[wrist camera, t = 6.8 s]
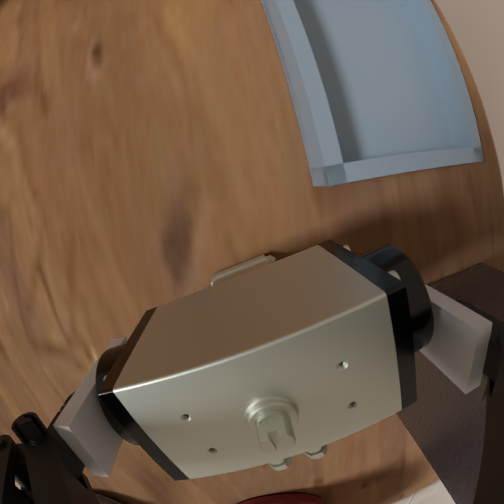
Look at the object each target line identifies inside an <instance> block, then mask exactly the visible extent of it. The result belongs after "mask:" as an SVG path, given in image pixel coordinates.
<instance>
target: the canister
mask: <svg viewBox="0 0 504 504" xmlns="http://www.w3.org/2000/svg"><path fill="white" fill-rule="evenodd" d="M238 504H325V501H324V500H323V499H322V498H320V497H317V496H314V495H309V494H297V493H294V494H277V495H269V496H263V497H258V498H254V499H250V500H246V501H243V502H241V503H238Z"/></svg>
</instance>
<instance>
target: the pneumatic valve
mask: <svg viewBox="0 0 504 504" xmlns="http://www.w3.org/2000/svg"><path fill="white" fill-rule="evenodd" d="M210 284H211V287H208V288H206V289H203V290H201V291H198V292H195V293H193V294H190V295H187V296H185V297H182V298H179V299H177V300H174V301H171V302H169V303H166V304H163V305H161V306H158V307H155V308H153V309H150V310H147V311H146V312H145V314H144V315H143V317H142V319H141V320H140V322H139V323H138V325H136V326H135V330H134V331H133V333H132V335H131V336H130V338H129V339H128V341H127V343H125V344H122V345H118V346H115V347H112V348H109V349H107V350H106V351H105V352H104V353H103V354H102V355H101V357H100V359H99V361H98V364H97V368H96V378H95V380H96V391H97V396H98V400H99V403H100V406H101V408H102V411H103V413H104V415H105V417H106V419H107V421H108V422H109V424H110V425H111V427H112V428H113V429H114V430H115V432H116V433H117V434H118V435H119V436H121V437H122V438H123V439H124V440H126V441H128V442H130V443H132V444H135V445H140V446H141V447H142V448H143V449H144V450H145V451H146V453H147V454H148V455H149V456H150V457H151V458H152V459H153V460H154V461H155V462H156V463H157V464H158V465H159V466H160V467H161V468H162V469H163V470H164V471H166V472H167V473H168V474H169V475H170V476H171V477H172V478H173V479H174V480H175V481H178V480H186V479H194V478H201V477H207V476H213V475H219V474H224V473H229V472H234V471H239V470H243V469H248V468H252V467H256V466H260V465H264V464H269V465H270V466H271V467H272V468H273V469H275V470H278V471H279V470H284V469H286V468H287V467H288V466H289V465H290V463H291V457H292V456H295V455H298V454H301V453H305V454H306V455H307V456H308V457H309V458H311V459H318V458H321V457H322V456H324V455H325V453H326V451H327V444H329V443H332V442H334V441H337V440H339V439H342V438H344V437H346V436H349V435H351V434H353V433H356V432H358V431H360V430H362V429H365V428H367V427H369V426H371V425H373V424H375V423H377V422H379V421H381V420H383V419H385V418H387V417H389V416H391V415H393V414H395V413H397V412H399V411H401V410H402V409H404V408H406V407H408V406H410V405H411V404H413V403H415V402H417V386H416V367H415V354H414V353H415V352H417V351H419V350H421V349H422V348H424V347H426V346H427V345H428V344H429V343H430V341H431V339H432V336H433V331H434V315H433V309H432V304H431V300H430V297H429V294H428V291H427V289H426V286H425V284H424V282H423V280H422V278H421V276H420V274H419V272H418V271H417V269H416V267H415V266H414V265H413V263H412V262H411V261H410V259H409V258H408V257H407V256H406V255H405V254H404V253H403V252H402V251H401V250H399V249H398V248H396V247H394V246H392V245H389V244H383V245H380V246H378V247H376V248H374V249H371V250H369V251H367V252H365V253H362V254H360V255H357V254H355V253H353V252H351V250H350V248H349V246H348V245H344V246H341V245H339V244H337V243H336V242H334V241H332V240H328V241H326V242H323V243H321V244H318V245H316V246H313V247H311V248H308V249H306V250H303V251H301V252H298V253H296V254H293V255H291V256H288V257H286V258H283V259H280V260H278V261H276V259H275V257H274V256H273V257H272V256H271V255H269V256H267V257H266V256H264V254H263V255H260V256H257V257H255V258H252V259H250V260H247V261H245V262H242V263H240V264H237V265H234V266H232V267H229V268H227V269H224V270H222V271H219V272H217V273H214V274H213V278H210Z"/></svg>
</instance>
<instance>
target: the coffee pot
mask: <svg viewBox="0 0 504 504" xmlns="http://www.w3.org/2000/svg"><path fill="white" fill-rule="evenodd" d="M95 495H96V497H97V499H98V501H99V503H100V504H122V503H119V502H117V501H115V500H113V499H110V498H108V497H105V496H102V495H99V494H95Z"/></svg>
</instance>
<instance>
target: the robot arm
mask: <svg viewBox="0 0 504 504" xmlns="http://www.w3.org/2000/svg"><path fill="white" fill-rule="evenodd" d="M425 286H426V289H427V291H428V294H429V297H430V300H431V304H432V309H433V315H434V331H433V336H432V339H431V341H430V343H429V344H428V345H427V346H426V347H424V348H422V349H421V350H420V351H421V352H422V353H423V354H424V355H425V356H426V357H427V358H428V359H429V360H430V361H431V362H432V363H433V364H434V365H435V366H437V367H438V368H439V369H440V370H441V371H442V372H443V373H444V374H445V375H446V376H447V377H448V378H449V379H450V380H451V381H452V382H453V383H454V384H455V385H456V386H457V387H458V388H459V389H460V390H461V391H462V392H463V393H464V394H467V393H469V392H470V391H472V390H473V389H475V388H476V387H478V386H480V382H481V378H482V374H483V373H484V374H485V375H486V376H487V377H488V381H487V385H486V388H485V392H484V395H483V398H482V399H485V397H486V395H487V397H486V422H485V434H484V444H483V452H482V460H481V466H480V472H479V478H478V483H477V488H476V492H475V497H474V501H473V504H504V321H503V322H501V321H499V320H498V319H496V318H494V317H493V316H491V315H489V314H487V313H486V312H484V311H481V310H480V309H479V308H477V307H476V308H475V306H473V305H471V304H470V303H468V302H465V301H461V300H457V299H456V300H453V299H451V298H449V297H448V296H446V295H444V294H442V293H440V292H439V291H437V290H435V289H433V288H431V287H430V286H428V285H426V284H425ZM125 343H127V339H126V337H123V338H117V339H113V340H112V341H111V342H110V344H109V345H108V346H107V348H106V349H105V351H106V350H107V349H109V348H112V347H115V346H118V345H122V344H125ZM105 351H104V352H105ZM104 352H103V353H104ZM103 353H102V354H103ZM100 357H101V356H100ZM100 357H99V359H100ZM99 359H98V360H97V362H96V363H95V364H94V366H93V367H92V369H91V370H90V371H89V373H88V374H87V376H86V377H85V378H84V380H83V381H82V383H81V384H80V386H79V387H78V389H77V390H76V391H75V392H74V393H73V394H71V395H70V396H69V397H68V398H67V400H66V401H65V403H64V404H63V405H64V406H62V407H61V409H60V410H59V411H60V412H58V413H57V414H56V416H55V417H54V419H53V420H52V422H51V423H50V425H49V427H48V428H46V427H45V426H44V424H43V423H42V421H41V420H40V419H39V417H38V416H37V414H36V413H33V412H28V413H25V414H23V415H21V416H19V417H18V418H17V419H16V420H15V421H14V422H13V424H12V427H11V429H12V430H13V431H14V433H15V434H16V435H17V437H18V438H19V439H20V441H21V442H22V443H21V444H16V443H15V442H14V441H13V439H12V438H11V437H10V436H9V435H1V436H0V504H100V503H99V501H98V499H97V497H96V495H95V493H94V491H93V489H92V487H91V485H90V483H89V481H88V479H87V477H86V476H85V475H84V474H83V472H82V471H83V469H84V467H86V468H87V469H88V470H89V471H90V472H91V473H92V474H93V475H96V476H105V477H109V476H110V473H111V470H112V467H113V464H114V462H115V459H116V456H117V454H118V451H119V448H120V445H121V443H122V440H123V438H122V437H121V436H119V435H118V434H117V433H116V432H115V430H114V429H113V428H112V427H111V425H110V424H109V422H108V421H107V419H106V417H105V415H104V413H103V411H102V408H101V406H100V403H99V400H98V396H97V391H96V380H95V378H96V368H97V364H98V361H99ZM15 480H16V481H17V482H18V483H19V484H20V485H21V490H20V489H18V488H17V487H16V486H15Z"/></svg>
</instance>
